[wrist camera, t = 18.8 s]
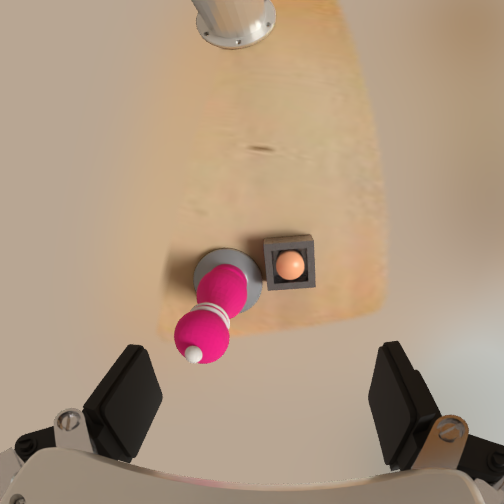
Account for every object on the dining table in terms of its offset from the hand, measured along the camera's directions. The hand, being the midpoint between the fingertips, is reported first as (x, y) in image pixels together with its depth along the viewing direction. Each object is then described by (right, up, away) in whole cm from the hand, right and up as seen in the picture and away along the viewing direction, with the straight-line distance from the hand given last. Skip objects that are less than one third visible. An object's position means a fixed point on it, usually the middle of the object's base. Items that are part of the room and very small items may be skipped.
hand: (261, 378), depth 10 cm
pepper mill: (-4, 0, +35) cm, 35 cm away
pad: (-4, 0, +36) cm, 36 cm away
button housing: (+5, +4, +33) cm, 34 cm away
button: (+5, +4, +32) cm, 33 cm away
